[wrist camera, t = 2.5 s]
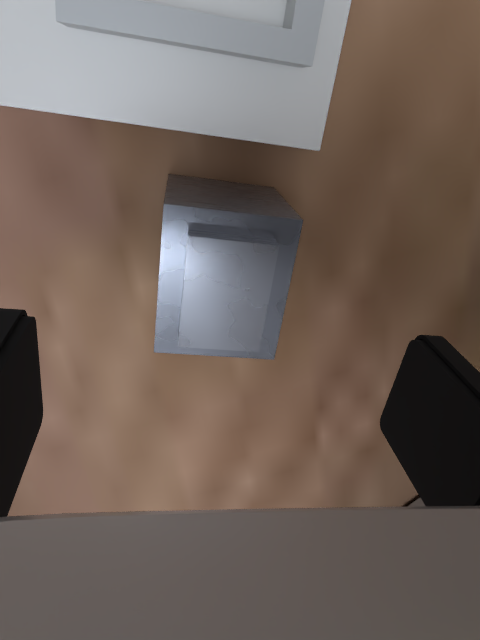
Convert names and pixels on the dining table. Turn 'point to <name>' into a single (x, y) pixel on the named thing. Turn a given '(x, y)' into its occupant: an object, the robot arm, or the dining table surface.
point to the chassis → (178, 63)
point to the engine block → (224, 268)
